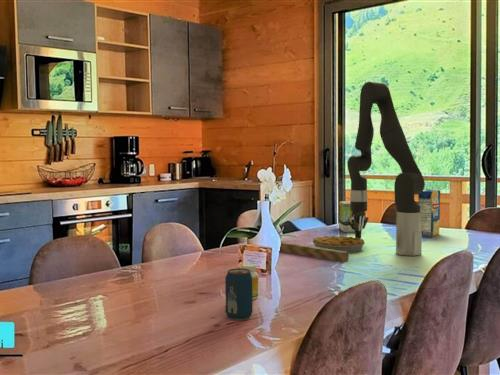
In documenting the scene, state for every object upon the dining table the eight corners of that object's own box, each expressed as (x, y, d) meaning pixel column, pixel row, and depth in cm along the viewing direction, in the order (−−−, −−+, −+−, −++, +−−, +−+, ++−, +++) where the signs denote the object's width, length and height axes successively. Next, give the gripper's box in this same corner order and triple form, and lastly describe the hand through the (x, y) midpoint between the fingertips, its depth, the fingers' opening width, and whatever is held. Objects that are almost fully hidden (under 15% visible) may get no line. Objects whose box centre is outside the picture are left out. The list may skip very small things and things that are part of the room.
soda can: (252, 312, 150) (252, 267, 149) (252, 320, 143) (253, 273, 142) (225, 313, 150) (225, 267, 149) (225, 321, 143) (225, 273, 142)
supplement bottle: (240, 300, 162) (240, 267, 161) (238, 295, 167) (238, 263, 167) (259, 300, 162) (259, 266, 162) (257, 295, 168) (257, 263, 167)
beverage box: (417, 235, 282) (418, 190, 281) (426, 232, 291) (427, 189, 289) (430, 236, 278) (432, 191, 276) (439, 234, 286) (440, 190, 285)
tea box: (361, 232, 292) (362, 203, 291) (342, 232, 292) (342, 203, 291) (357, 228, 307) (357, 200, 306) (338, 228, 307) (338, 200, 306)
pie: (347, 243, 259) (347, 232, 258) (374, 252, 238) (374, 240, 238) (303, 246, 251) (304, 235, 250) (328, 255, 230) (328, 243, 230)
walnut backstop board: (348, 260, 218) (348, 251, 218) (343, 262, 216) (343, 252, 216) (277, 249, 243) (277, 240, 243) (272, 250, 241) (272, 241, 241)
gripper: (357, 201, 247) (356, 241, 248) (374, 199, 256) (373, 238, 257) (343, 200, 252) (342, 239, 253) (359, 198, 261) (359, 236, 262)
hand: (358, 238), depth 255 cm, fingers closed
